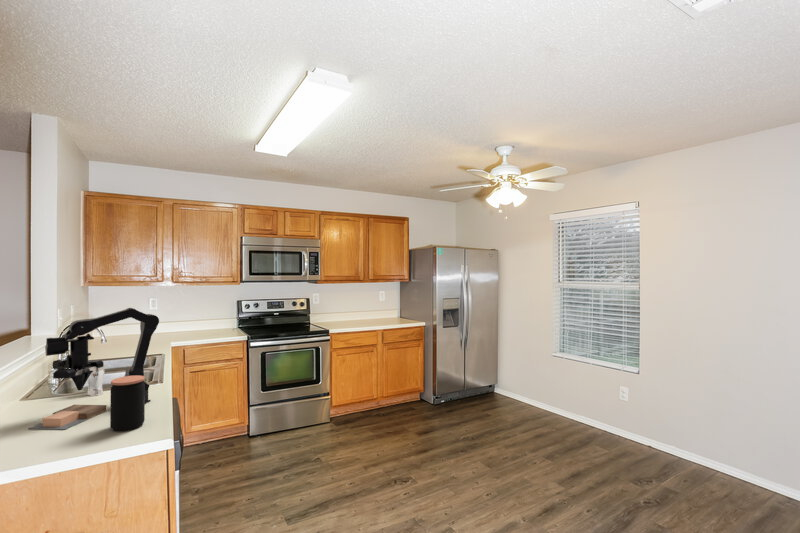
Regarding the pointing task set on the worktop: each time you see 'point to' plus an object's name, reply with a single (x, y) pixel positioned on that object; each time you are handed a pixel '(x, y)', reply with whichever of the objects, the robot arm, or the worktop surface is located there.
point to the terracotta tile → (60, 418)
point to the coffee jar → (127, 403)
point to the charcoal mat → (41, 427)
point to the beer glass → (95, 381)
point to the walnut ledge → (86, 410)
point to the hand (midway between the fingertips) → (79, 390)
